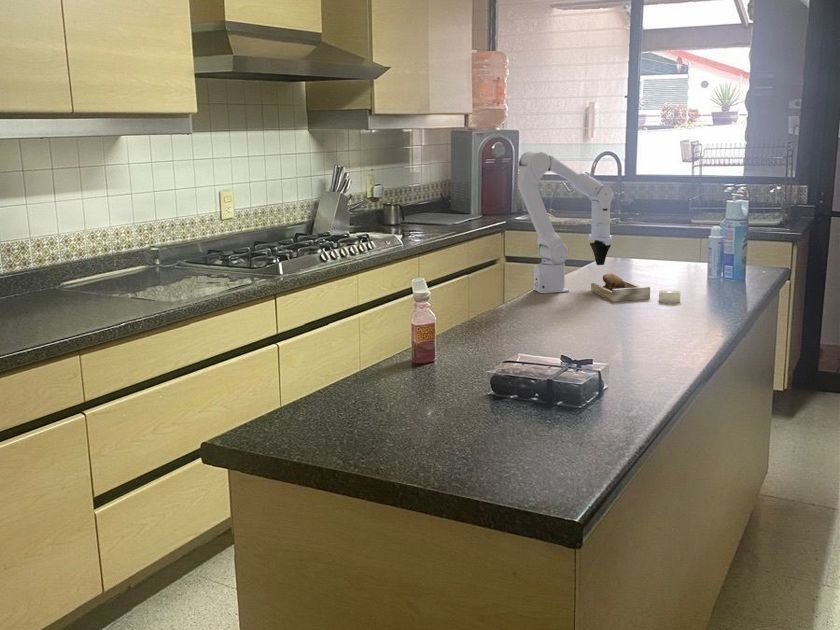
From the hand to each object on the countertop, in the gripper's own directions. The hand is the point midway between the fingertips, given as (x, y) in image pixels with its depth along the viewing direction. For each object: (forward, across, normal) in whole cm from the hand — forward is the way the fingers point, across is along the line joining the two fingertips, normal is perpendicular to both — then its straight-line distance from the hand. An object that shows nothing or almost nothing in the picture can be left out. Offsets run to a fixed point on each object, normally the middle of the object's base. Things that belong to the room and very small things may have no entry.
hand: (600, 264), depth 274 cm
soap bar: (+7, -29, -9) cm, 31 cm away
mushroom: (+7, -11, 0) cm, 13 cm away
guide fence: (+7, -15, 0) cm, 17 cm away
